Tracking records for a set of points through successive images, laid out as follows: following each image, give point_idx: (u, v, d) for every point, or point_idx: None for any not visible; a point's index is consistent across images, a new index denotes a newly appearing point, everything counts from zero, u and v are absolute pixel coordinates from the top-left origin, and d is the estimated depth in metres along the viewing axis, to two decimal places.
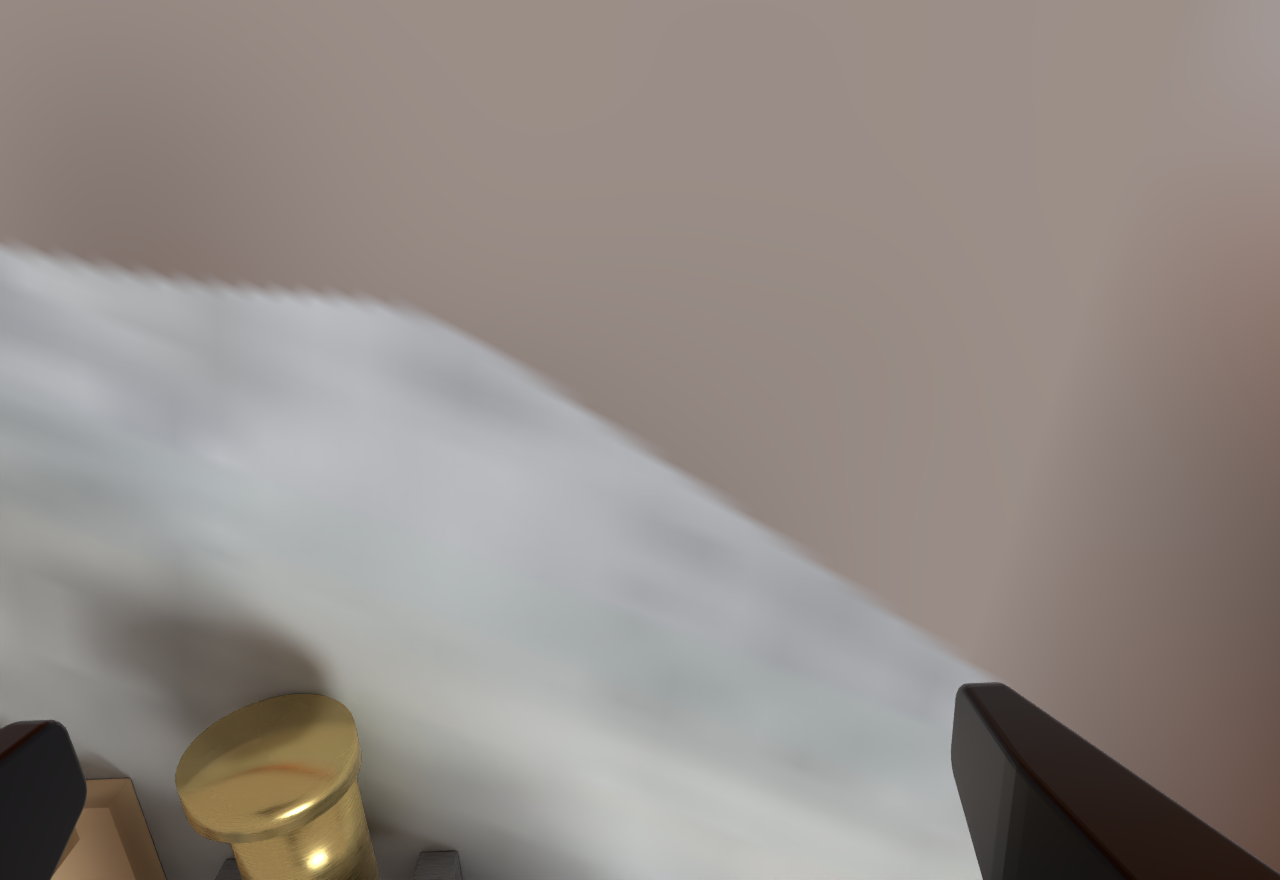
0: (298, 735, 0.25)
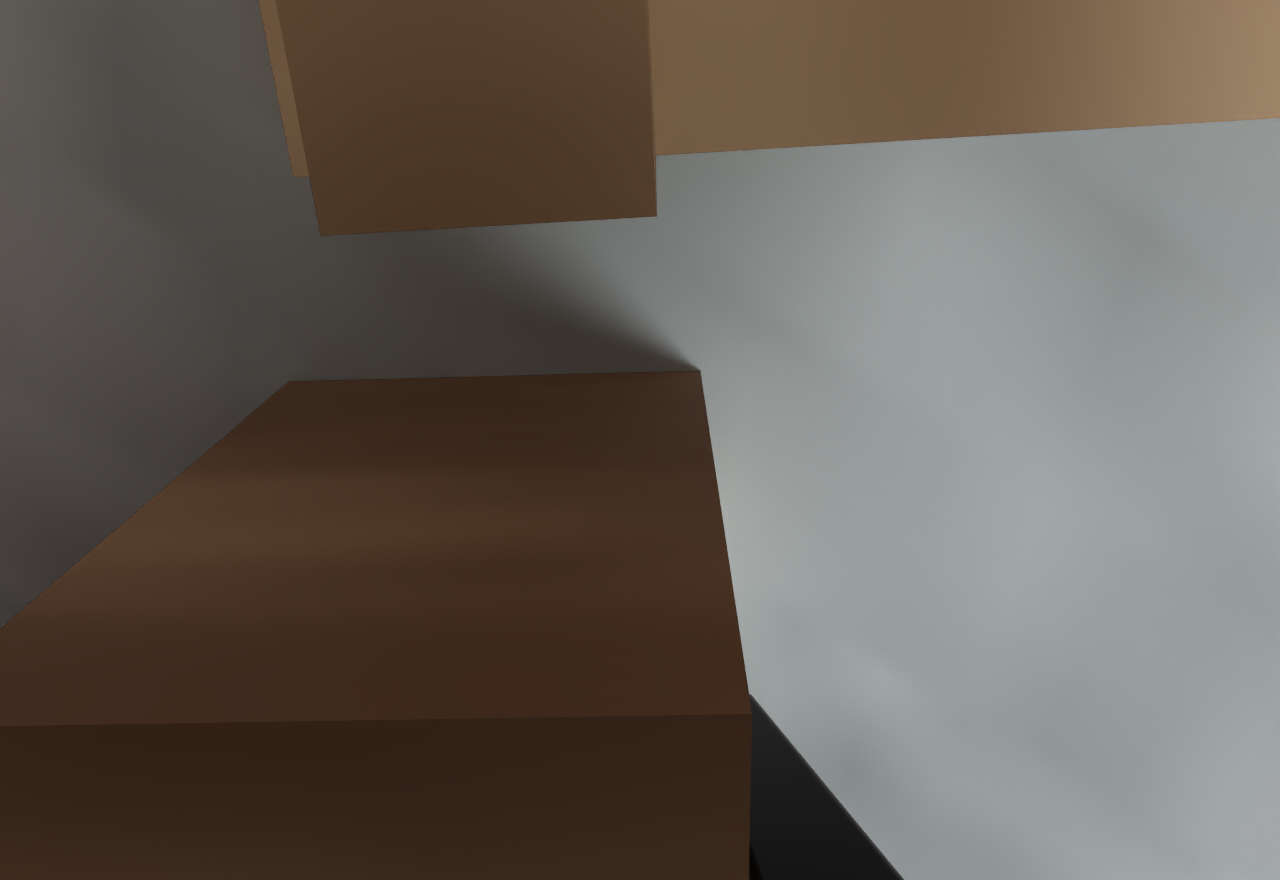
0: None
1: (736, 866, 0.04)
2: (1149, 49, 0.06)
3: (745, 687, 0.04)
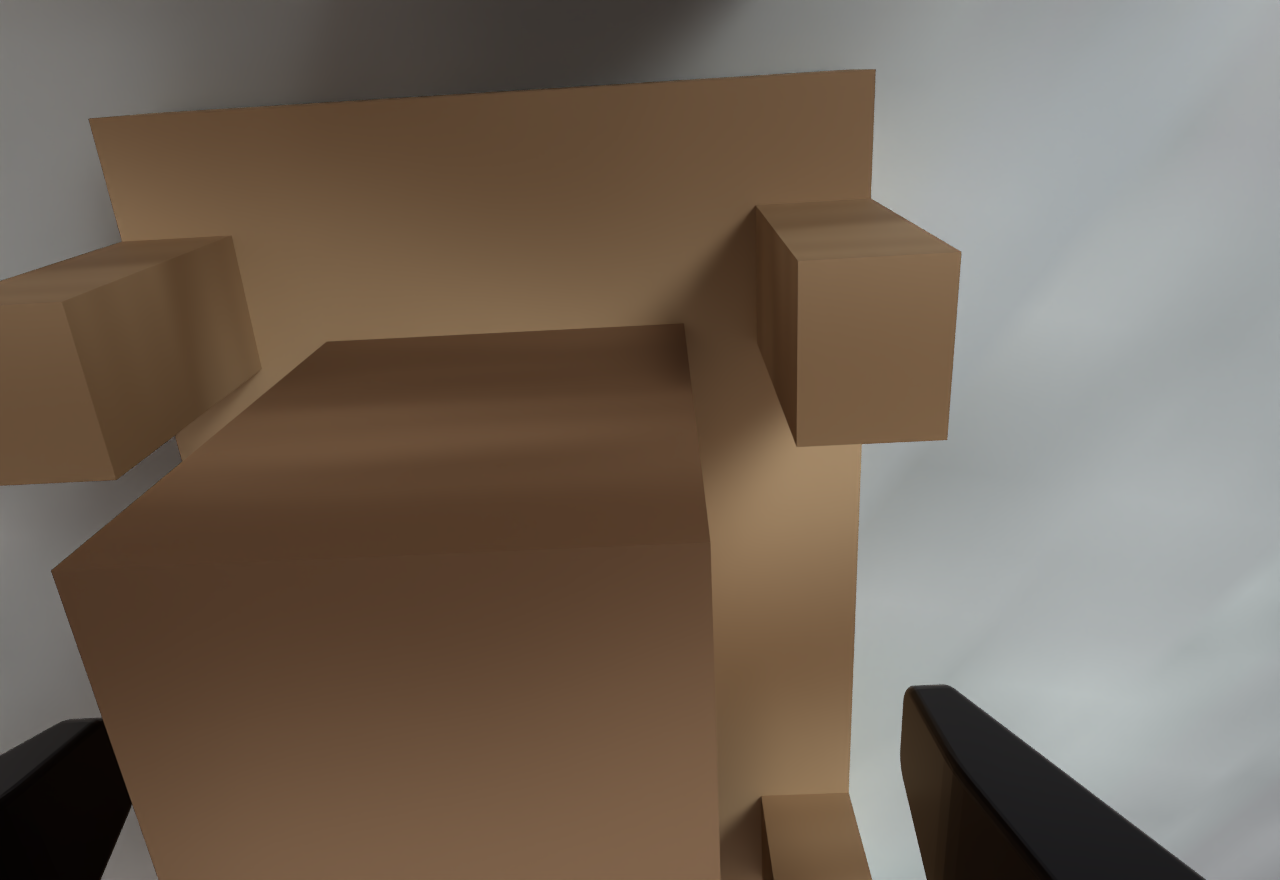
0: None
1: (704, 670, 0.06)
2: (814, 571, 0.11)
3: (706, 526, 0.05)
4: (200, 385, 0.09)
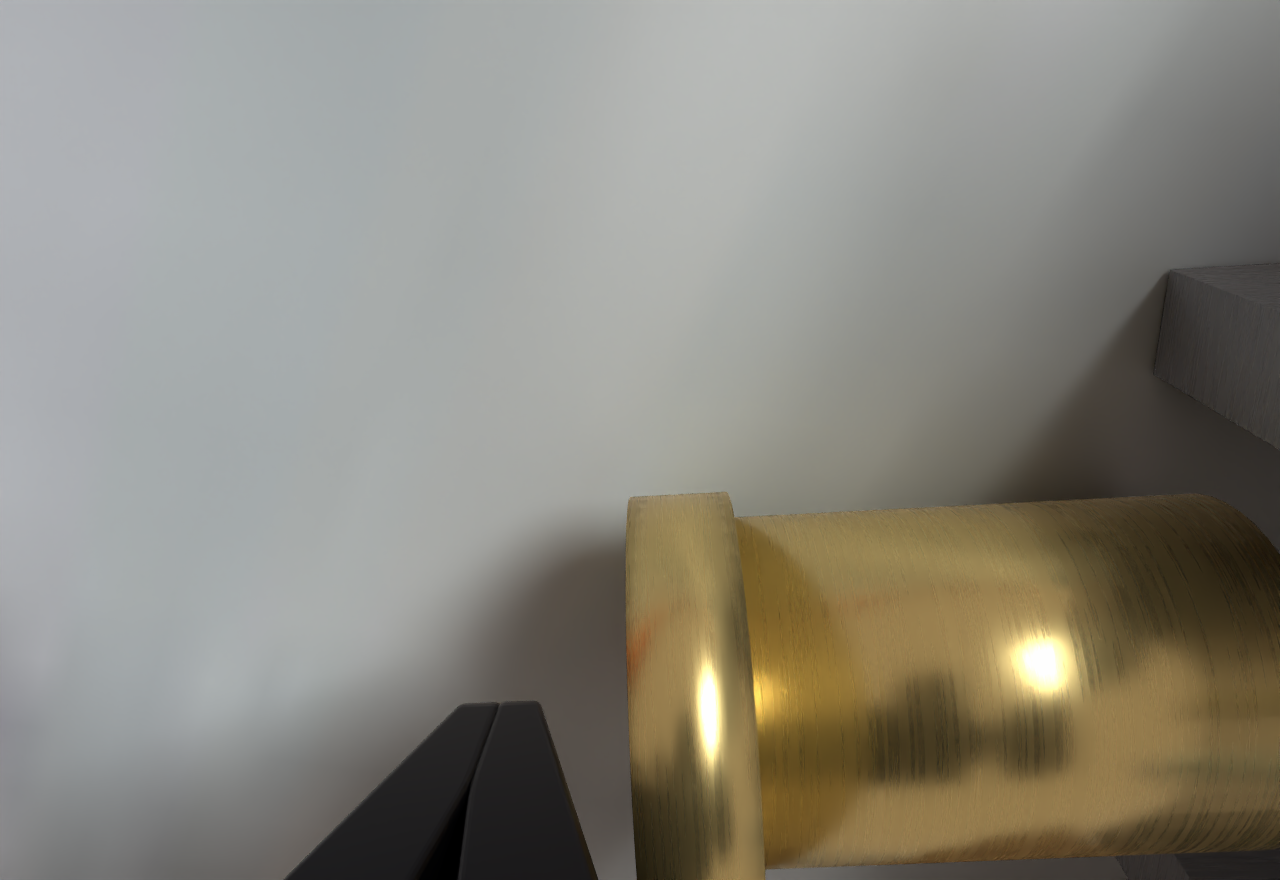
0: None
1: None
2: None
3: None
4: None
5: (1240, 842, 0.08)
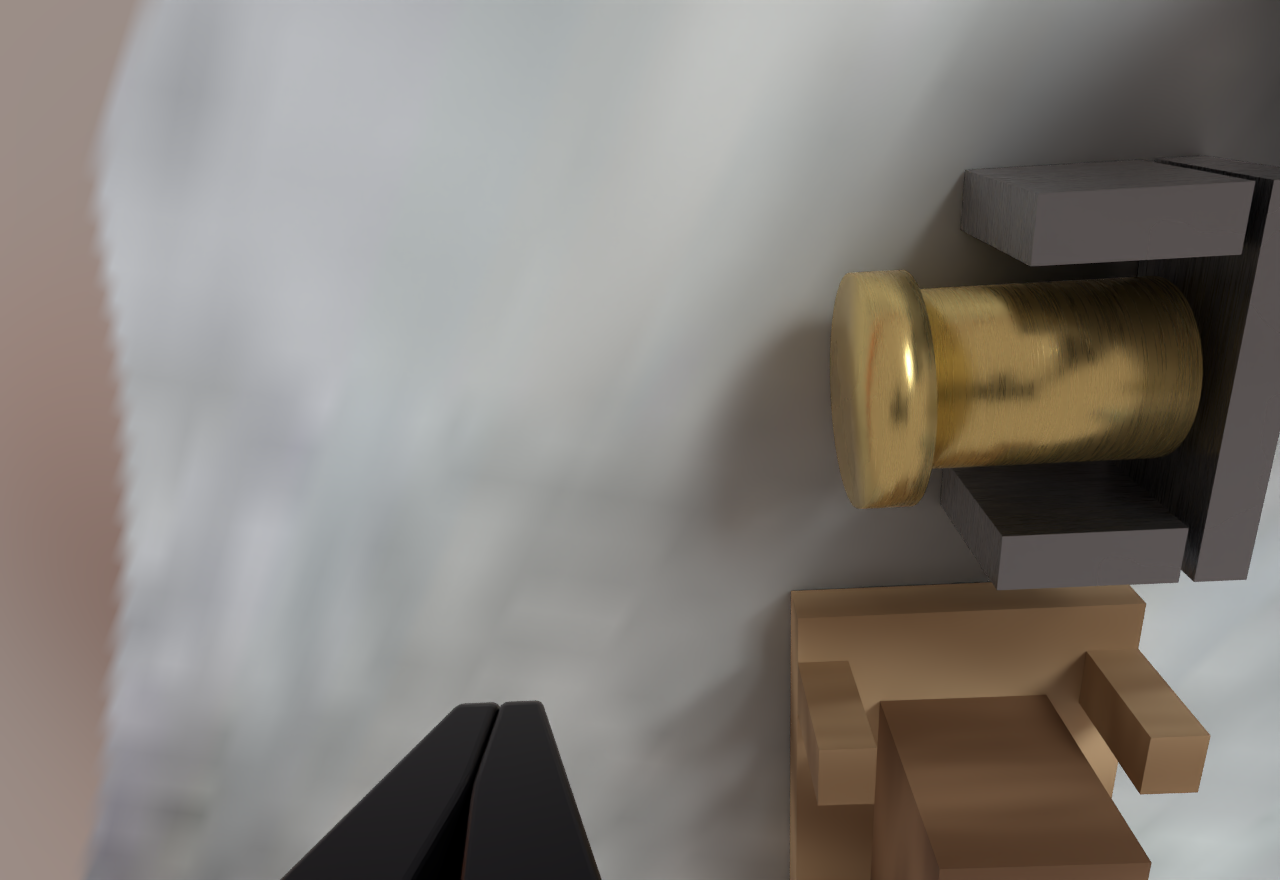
0: (847, 352, 0.18)
1: None
2: None
3: (1146, 855, 0.17)
4: None
5: (1161, 437, 0.17)
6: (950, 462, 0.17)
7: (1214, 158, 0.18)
